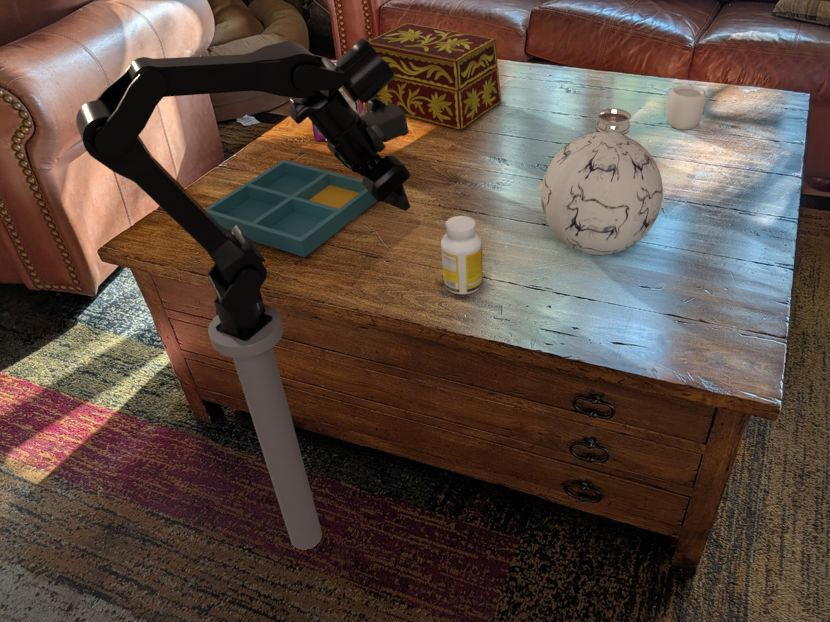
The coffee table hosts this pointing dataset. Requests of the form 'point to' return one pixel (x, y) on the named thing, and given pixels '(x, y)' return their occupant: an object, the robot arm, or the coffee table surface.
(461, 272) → the pill bottle
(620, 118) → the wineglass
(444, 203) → the coffee table surface
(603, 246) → the decorative sphere
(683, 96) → the mug
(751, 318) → the coffee table surface
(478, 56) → the decorative box
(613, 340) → the coffee table surface
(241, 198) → the tray
